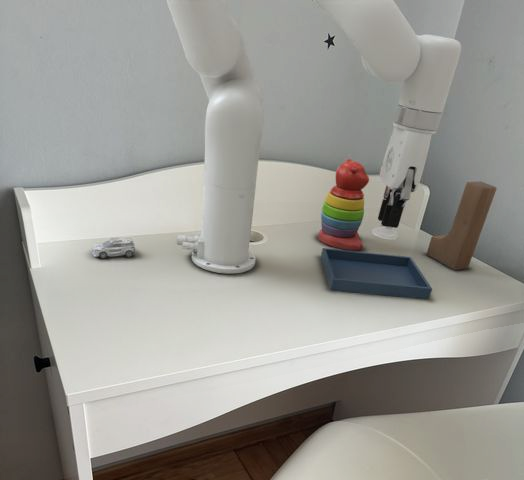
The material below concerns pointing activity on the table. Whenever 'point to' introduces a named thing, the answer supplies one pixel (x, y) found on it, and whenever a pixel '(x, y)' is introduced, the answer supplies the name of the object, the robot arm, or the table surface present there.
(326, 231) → the stacking bear
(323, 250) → the tray
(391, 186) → the robot arm
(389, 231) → the chess piece
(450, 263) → the wooden block
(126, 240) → the toy car
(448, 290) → the table surface
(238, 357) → the table surface
